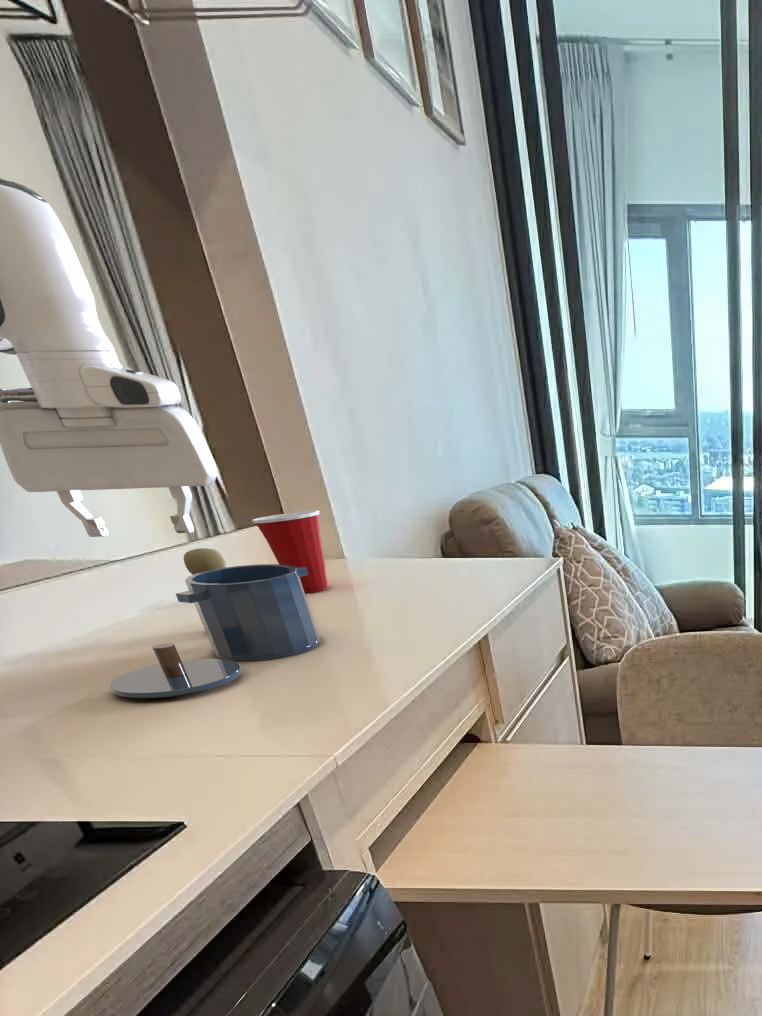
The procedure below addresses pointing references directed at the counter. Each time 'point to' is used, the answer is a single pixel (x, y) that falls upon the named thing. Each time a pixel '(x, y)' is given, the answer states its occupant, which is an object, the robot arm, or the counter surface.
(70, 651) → the counter surface
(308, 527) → the plastic cup
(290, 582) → the pot
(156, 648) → the lid
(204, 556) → the cork
